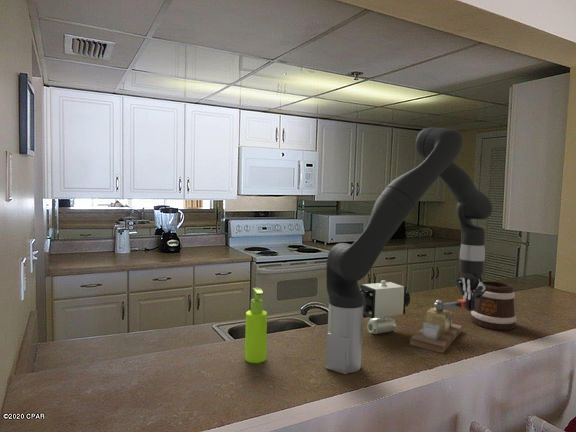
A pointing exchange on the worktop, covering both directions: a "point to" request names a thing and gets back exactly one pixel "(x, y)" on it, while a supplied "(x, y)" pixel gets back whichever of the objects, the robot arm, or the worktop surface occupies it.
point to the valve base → (442, 340)
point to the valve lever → (449, 305)
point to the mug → (495, 307)
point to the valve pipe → (436, 324)
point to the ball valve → (383, 304)
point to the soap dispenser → (256, 330)
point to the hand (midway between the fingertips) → (470, 310)
